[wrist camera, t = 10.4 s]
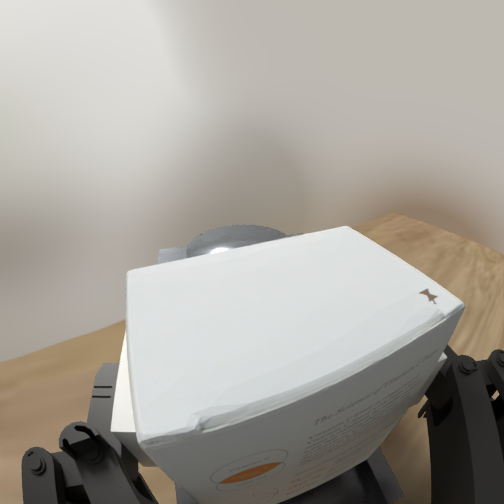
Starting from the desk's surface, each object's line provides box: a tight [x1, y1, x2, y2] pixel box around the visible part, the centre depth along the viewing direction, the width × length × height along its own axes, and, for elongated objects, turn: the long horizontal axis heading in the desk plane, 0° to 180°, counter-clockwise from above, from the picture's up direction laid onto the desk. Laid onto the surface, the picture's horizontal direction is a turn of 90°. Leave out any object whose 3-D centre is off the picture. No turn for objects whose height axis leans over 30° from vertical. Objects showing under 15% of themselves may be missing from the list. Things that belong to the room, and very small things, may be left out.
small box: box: [126, 226, 465, 504], centre depth 9 cm, size 8×6×10 cm
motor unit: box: [157, 225, 404, 504], centre depth 14 cm, size 11×18×10 cm, turn 11°
